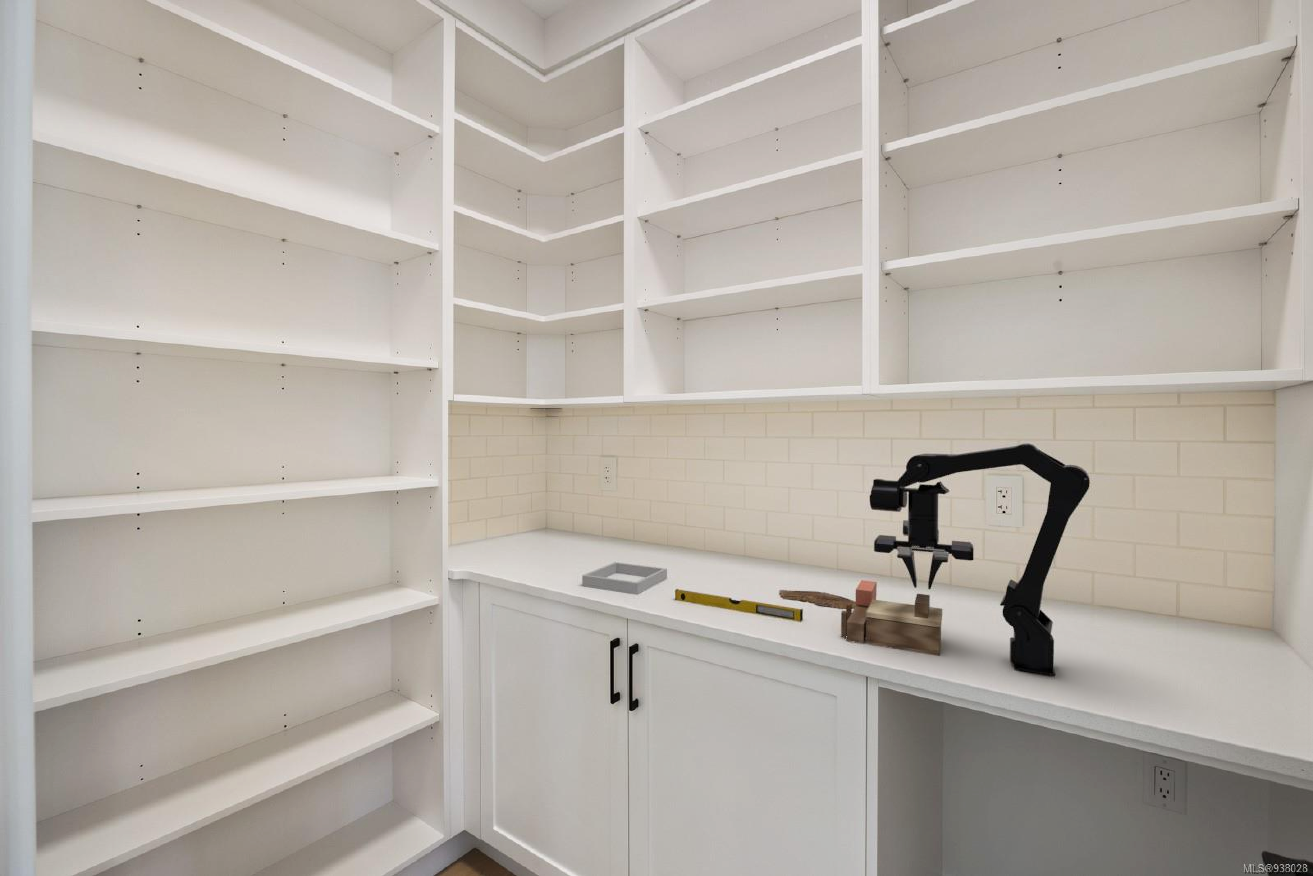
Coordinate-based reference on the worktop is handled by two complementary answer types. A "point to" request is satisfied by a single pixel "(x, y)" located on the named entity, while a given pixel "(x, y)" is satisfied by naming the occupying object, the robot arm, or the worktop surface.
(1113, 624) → the worktop surface
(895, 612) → the lid
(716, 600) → the spirit level
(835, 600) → the wooden fragment
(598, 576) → the parts corral
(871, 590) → the pink rectangular block
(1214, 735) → the worktop surface
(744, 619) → the worktop surface
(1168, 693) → the worktop surface
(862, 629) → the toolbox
